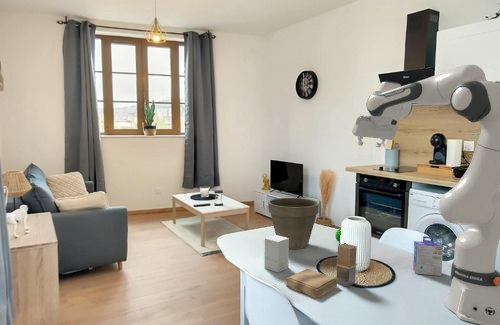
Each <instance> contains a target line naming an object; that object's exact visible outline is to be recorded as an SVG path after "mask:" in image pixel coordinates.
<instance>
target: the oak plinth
mask: <svg viewBox="0 0 500 325" xmlns="http://www.w3.org/2000/svg"><path fill="white" fill-rule="evenodd" d="M285 282H286V285H285V286H286V287H287V288H290V289H293V290H295V291H298V292H300V293H303V294H305V295H307V296H309V297H312V298H315V299H319V298H320V297H321V296H325V294H327V293H329V292H330V291H332V290H333V289H335V288H337V287H338V283H337V279H336V277H334V276H331V275H328V274H324V273H322V272H319V271H316V270H313V269H310V268H306V269H303V270H301V271H300V272H299V271H298V273H295V274H293V275H291V276H288V277H286V281H285Z"/></svg>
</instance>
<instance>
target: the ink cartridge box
mask: <svg viewBox="0 0 500 325" xmlns="http://www.w3.org/2000/svg"><path fill="white" fill-rule="evenodd" d="M443 255H444V246H443V244H441V243H440V242H437V241H436V242H435V241H434V238H433V236H425V235H423V236H422V241H418V240H414V241H413V261H412V262H413V264H412V270H413V273H414V274H416V275H428V276H429V275H430V276H438V277H441V276H442V270H443Z"/></svg>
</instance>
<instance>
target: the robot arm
mask: <svg viewBox="0 0 500 325" xmlns="http://www.w3.org/2000/svg"><path fill="white" fill-rule="evenodd" d="M413 104H419V105H429V106H445V105H447V106H448V105H450V107H451V109H452V110H453V111H454V113H456V114H457V115H458V116H461V117H463V118H465V119H466V120H468V121H469V122H470V123H474V124H475V123H477V122H478V123H479V125H480V127H481V128H480V129H481V131H480V134H479V137H478V140H477V143H476V145H475V149H474V151H473V154H472V157H471V161H470V162H469V166H468V167H467V169H466V171H465V172H464V173H463V175H462V176H461V178H460V179H459V180H458V182H457V183H456V184H455V185H454V186H453V188H451V189H450V190H449V191H447V192H445V193H444V194H443V195H442V196H441V197H440V198H439V202H438V211H439V213H440V216H441V217H442V218H443V220H444V221H446V222H448V223H450V224H453V225H459V226H466V227H465V228H464V230H463V231H462V232H461V233H460V234H459V235H458V236H457V237H456V239H455V242H454V253H453V255H454V256H453V262H452V263H451V267H450V268H451V269H450V276H451V277H450V279H451V282H450V288H449V290H448V291H449V292H448V295H447V297H446V299H445V301H444V304H445V307H446V308H447V309H448V310H450V311H451V312H453V314H455V315H456V316H457V317H458V319H460V320H462V321H466V322H467V323H473V324H476V325H500V272H499V271H498V270H496V263H497V262H496V261H497V254H498V253H497V252H498V247H499V243H500V81H498V80H497V81H488V79H487V78H486V74H485V72H484V70H483V69H482V67H480V66H478V65H475V64H466V65H461V66H456V67H454V68H450V69H448V70H445V71H443V72H440V73H438V74H436V75H433V76H429V77H428V78H425V79H424V78H423V79H421V80H418V81H415V82H412V83H409V84H404V85H402V86H401V84H400V83H398V82H396V81H395V82H394V81H387V80H386V81H384V80H383V81H382V82H381V83H380V85H379V87H378V88H377V90H376V91H373V93H371V94H370V96H368V98H367V100H366V104H365V105H366V109H367V111H368V115H360V116H359V117H356V120H355V123H354V125H353V126H352V129H351V133H352V134H353V135H354V136H355V137H357V140H358V143H357V145H358V146H361V147H362V146H363V145H364V141H362V140H363V139H364V138H373V139H379V141H377V142H376V143H375V147H376V148H381V147H382V144H384V142H386V140H390V141H391V140H393V139H394V138H395V137H396V134H397V131H398V125H399V124H400V121H399V120H398V119H405V118H407V117H408V116H409V115H410V114H411V112H412V110H413V106H414V105H413Z"/></svg>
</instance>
